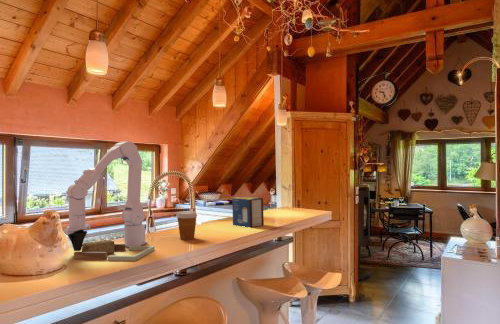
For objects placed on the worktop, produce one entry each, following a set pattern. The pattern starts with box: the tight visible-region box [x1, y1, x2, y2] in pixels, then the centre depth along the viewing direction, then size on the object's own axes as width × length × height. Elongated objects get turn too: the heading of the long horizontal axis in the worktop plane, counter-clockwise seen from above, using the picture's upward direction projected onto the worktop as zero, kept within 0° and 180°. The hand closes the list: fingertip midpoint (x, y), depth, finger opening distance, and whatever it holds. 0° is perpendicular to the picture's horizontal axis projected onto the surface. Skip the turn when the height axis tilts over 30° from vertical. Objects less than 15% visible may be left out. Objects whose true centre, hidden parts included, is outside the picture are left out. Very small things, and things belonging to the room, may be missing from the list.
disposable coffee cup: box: [176, 211, 198, 241], centre depth 165 cm, size 10×10×12 cm
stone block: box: [81, 239, 116, 255], centre depth 137 cm, size 6×12×5 cm, turn 126°
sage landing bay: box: [107, 245, 156, 262], centre depth 135 cm, size 17×10×2 cm, turn 173°
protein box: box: [231, 196, 265, 228], centre depth 202 cm, size 10×15×16 cm
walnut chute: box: [73, 243, 126, 261], centre depth 136 cm, size 15×12×2 cm
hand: (77, 250), depth 138 cm, fingers closed
